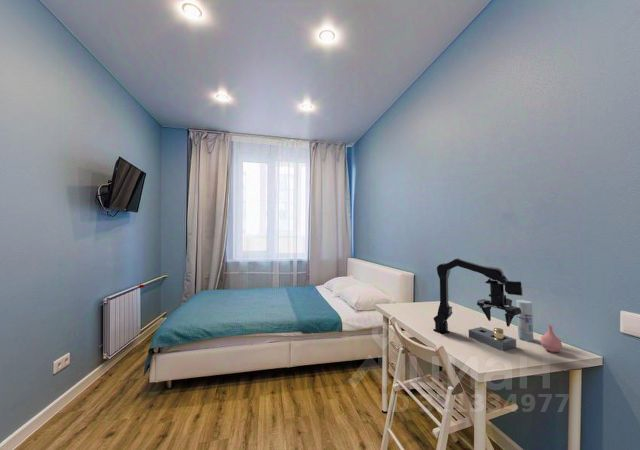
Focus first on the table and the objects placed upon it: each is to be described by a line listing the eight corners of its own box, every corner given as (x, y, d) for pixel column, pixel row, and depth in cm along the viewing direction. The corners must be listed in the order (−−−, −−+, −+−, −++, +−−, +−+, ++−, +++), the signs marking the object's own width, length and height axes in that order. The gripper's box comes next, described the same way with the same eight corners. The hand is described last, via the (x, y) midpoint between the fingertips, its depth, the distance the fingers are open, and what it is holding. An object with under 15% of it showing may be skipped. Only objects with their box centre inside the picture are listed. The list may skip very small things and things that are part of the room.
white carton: (524, 335, 137) (522, 299, 137) (537, 340, 130) (535, 302, 131) (515, 337, 135) (513, 300, 136) (527, 342, 129) (525, 303, 129)
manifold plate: (503, 351, 120) (502, 342, 120) (468, 337, 136) (468, 329, 137) (516, 347, 123) (515, 339, 124) (481, 334, 140) (481, 326, 140)
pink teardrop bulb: (549, 346, 123) (548, 322, 124) (567, 354, 116) (565, 328, 116) (536, 348, 122) (535, 323, 123) (553, 355, 115) (551, 329, 115)
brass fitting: (500, 347, 124) (499, 331, 124) (492, 344, 127) (491, 328, 128) (505, 346, 125) (505, 330, 125) (497, 342, 129) (496, 327, 129)
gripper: (527, 295, 121) (529, 327, 121) (489, 287, 139) (490, 315, 138) (513, 297, 117) (514, 331, 117) (475, 289, 135) (476, 318, 134)
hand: (498, 323), depth 127 cm, fingers open, 9 cm apart
